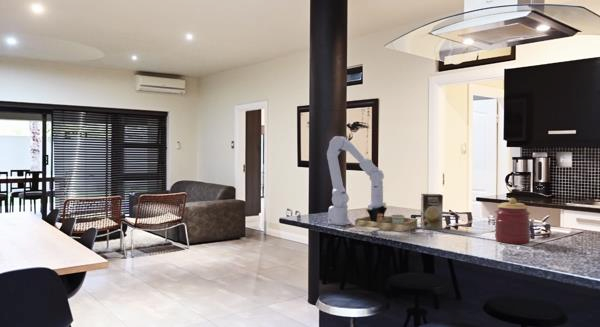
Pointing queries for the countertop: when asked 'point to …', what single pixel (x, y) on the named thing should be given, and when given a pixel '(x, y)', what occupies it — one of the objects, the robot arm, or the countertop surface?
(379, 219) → the terracotta pot
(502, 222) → the canister
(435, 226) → the coffee box
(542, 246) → the countertop surface
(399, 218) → the sage pot
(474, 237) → the countertop surface
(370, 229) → the ceramic tile
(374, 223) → the compartment tray
